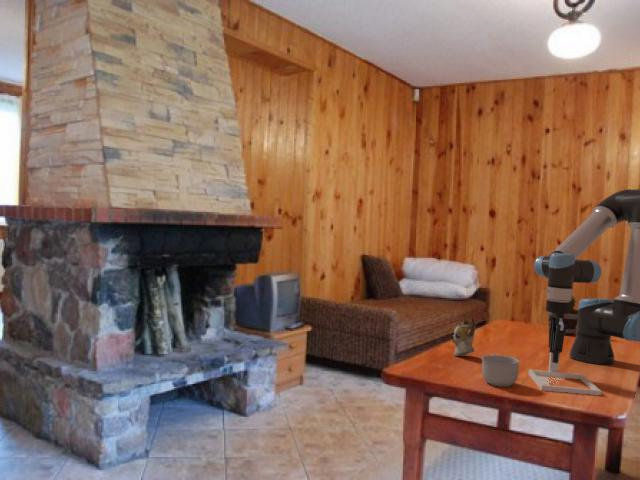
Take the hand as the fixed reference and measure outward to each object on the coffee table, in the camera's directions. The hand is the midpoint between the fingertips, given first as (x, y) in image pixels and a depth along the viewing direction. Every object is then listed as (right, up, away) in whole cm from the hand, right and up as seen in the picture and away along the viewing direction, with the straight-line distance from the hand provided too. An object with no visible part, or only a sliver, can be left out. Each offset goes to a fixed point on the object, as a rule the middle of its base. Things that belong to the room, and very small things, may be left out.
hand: (553, 371), depth 184 cm
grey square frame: (-1, -2, -10) cm, 10 cm away
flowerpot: (+38, -1, +81) cm, 89 cm away
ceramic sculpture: (-25, 0, +22) cm, 33 cm away
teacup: (-22, -1, -11) cm, 25 cm away
